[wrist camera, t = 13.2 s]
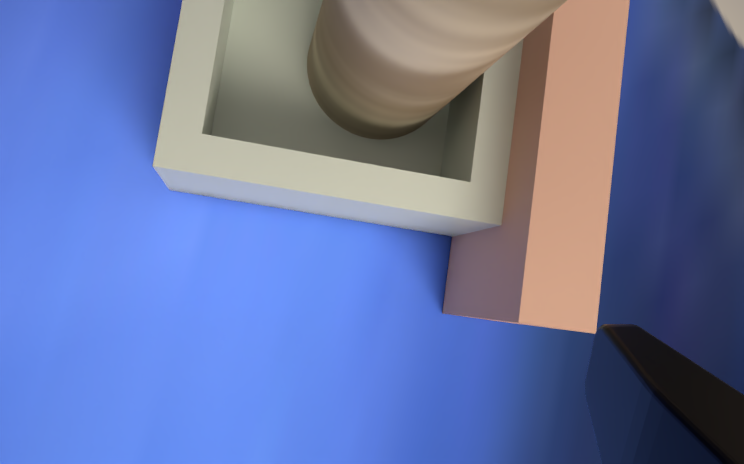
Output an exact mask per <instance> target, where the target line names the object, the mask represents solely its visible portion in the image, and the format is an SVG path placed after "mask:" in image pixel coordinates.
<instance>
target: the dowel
mask: <svg viewBox="0 0 744 464" xmlns="http://www.w3.org/2000/svg"><path fill="white" fill-rule="evenodd" d="M566 1H567V0H323V1H322V5H321V8H320V12H319V15H318V19H317V22H316V26H315V29H314V33H313V36H312V40H311V43H310V47H309V51H308V57H307V73H308V79H309V84H310V87H311V90H312V93H313V95H314V97H315V99H316V101H317V103H318V104H319V106H320V107H321V109H322V110H323V111H324V112H325V114H326V115H327V116H328V117H329V118H330V119H331V120H332V121H334V122H335V123H336V124H337V125H339V126H340V127H342V128H343V129H345V130H347V131H349V132H351V133H352V134H355V135H358V136H361V137H365V138H369V139H379V140H382V139H393V138H398V137H401V136H404V135H407V134H409V133H411V132H413V131H415V130H417V129H418V128H420V127H421V126H422V125H424V124H425V123H426V122H427V121H428V120H429V119H431V118H432V117H433V116H434V115H435V114H436V113H437V112H439V111H440V110H441V109H442V108H443V107H444V106H446V105H447V104H448V103H449V102H450V101H451V100H453V99H454V98H455V97H456V96H457V95H458V94H459V93H461V92H462V91H463V90H464V89H465V88H466V87H468V86H469V85H470V84H471V83H472V82H473V81H475V80H476V79H477V78H478V77H479V76H480V75H481V74H483V73H484V72H485V71H486V70H487V69H488V68H490V67H491V66H492V65H493V64H494V63H495V62H497V61H498V60H499V59H500V58H501V57H502V56H504V55H505V54H506V53H507V52H508V51H509V50H510V49H512V48H513V47H514V46H515V45H516V44H517V43H519V42H520V41H521V40H522V39H523V38H524V37H526V36H527V35H528V34H529V33H530V32H531V31H532V30H534V29H535V28H536V27H537V26H538V25H539V24H541V23H542V22H543V21H544V20H545V19H546V18H548V17H549V16H550V15H551V14H552V13H553V12H554V11H556V10H557V9H558V8H559V7H560V6H561V5H563V4H564V3H565V2H566Z"/></svg>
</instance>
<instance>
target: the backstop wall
mask: <svg viewBox="0 0 744 464" xmlns="http://www.w3.org/2000/svg"><path fill="white" fill-rule="evenodd" d="M629 1H630V0H567V1H566V2H565V3H564V4H563V5H561V6H560V7H559V8H558V9H557V10H556V11H554V12H553V13H552V14H551V15H550V16H549V17H548V18H546V19H545V20H544V21H543V22H542V23H541V24H539V25H538V26H537V27H536V28H535V29H534V30H532V31H531V32H530V33H529V34H528V35H527V36H526V37H524V40H523V48H522V57H521V65H520V73H519V82H518V90H517V99H516V107H515V115H514V124H513V132H512V141H511V149H510V157H509V166H508V174H507V183H506V191H505V199H504V208H503V216H502V225H501V226H496V227H492V228H488V229H484V230H480V231H476V232H471V233H467V234H463V235H459V236H455V237H453V236H452V241H451V249H450V257H449V265H448V273H447V281H446V289H445V296H444V304H443V312H442V313H444V314H451V315H458V316H465V317H472V318H479V319H486V320H493V321H500V322H508V323H516V324H524V325H532V326H540V327H547V328H555V329H563V330H571V331H579V332H587V333H594V334H595V333H596V327H597V317H598V307H599V297H600V287H601V278H602V268H603V258H604V248H605V238H606V228H607V218H608V208H609V199H610V189H611V179H612V169H613V159H614V149H615V139H616V129H617V119H618V110H619V100H620V90H621V80H622V70H623V60H624V50H625V40H626V31H627V21H628V11H629Z"/></svg>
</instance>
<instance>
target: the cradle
mask: <svg viewBox="0 0 744 464" xmlns="http://www.w3.org/2000/svg"><path fill="white" fill-rule="evenodd" d="M322 1H323V0H182V6H181V12H180V17H179V23H178V28H177V34H176V39H175V45H174V50H173V56H172V62H171V67H170V73H169V78H168V84H167V89H166V95H165V100H164V106H163V112H162V117H161V123H160V128H159V134H158V139H157V145H156V150H155V156H154V162H153V167H154V169H155V170H156V171H157V173H158V174H159V176H160V177H161V179H162V180H163V181H164V183H165V184H166V186H167V187H168V188H169V190H173V191H179V192H185V193H191V194H197V195H203V196H209V197H215V198H221V199H228V200H234V201H240V202H246V203H252V204H258V205H264V206H270V207H276V208H282V209H288V210H294V211H301V212H307V213H313V214H319V215H325V216H331V217H337V218H343V219H349V220H355V221H361V222H368V223H374V224H380V225H386V226H392V227H398V228H404V229H410V230H416V231H422V232H428V233H435V234H441V235H447V236H453V237H455V236H459V235H463V234H467V233H471V232H476V231H480V230H484V229H488V228H492V227H496V226H501V225H502V216H503V208H504V199H505V191H506V183H507V174H508V166H509V157H510V149H511V141H512V132H513V124H514V115H515V107H516V99H517V90H518V82H519V73H520V65H521V57H522V48H523V40H524V38H523V39H522V40H521V41H520V42H519V43H517V44H516V45H515V46H514V47H513V48H512V49H510V50H509V51H508V52H507V53H506V54H505V55H504V56H502V57H501V58H500V59H499V60H498V61H497V62H495V63H494V64H493V65H492V66H491V67H490V68H488V69H487V70H486V71H485V72H484V73H483V74H481V75H480V76H479V77H478V78H477V79H476V80H475V81H473V82H472V83H471V84H470V85H469V86H468V87H466V88H465V89H464V90H463V91H462V92H461V93H459V94H458V95H457V96H456V97H455V98H454V99H453V100H451V101H450V102H449V103H448V104H447V105H446V106H444V107H443V108H442V109H441V110H440V111H439V112H437V113H436V114H435V115H434V116H433V117H432V118H431V119H429V120H428V121H427V122H426V123H425V124H424V125H422V126H421V127H420V128H418V129H417V130H415V131H413V132H411V133H409V134H407V135H404V136H401V137H398V138H393V139H382V140H379V139H369V138H365V137H361V136H358V135H355V134H352V133H351V132H349V131H347V130H345V129H343V128H342V127H340V126H339V125H337V124H336V123H335V122H334V121H332V120H331V119H330V118H329V117H328V116H327V115H326V114H325V112H324V111H323V110H322V109H321V107H320V106H319V104H318V103H317V101H316V99H315V97H314V95H313V93H312V90H311V87H310V84H309V79H308V73H307V57H308V51H309V47H310V43H311V40H312V36H313V33H314V29H315V26H316V22H317V19H318V15H319V12H320V8H321V5H322Z"/></svg>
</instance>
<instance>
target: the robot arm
mask: <svg viewBox="0 0 744 464" xmlns="http://www.w3.org/2000/svg"><path fill="white" fill-rule="evenodd" d="M585 395H586V401H587V405H588V409H589V413H590V417H591V421H592V425H593V429H594V433H595V437H596V441H597V445H598V449H599V453H600V457H601V461H602V464H744V395H743V394H742V393H740V392H739V391H737V390H736V389H734V388H732V387H731V386H729V385H728V384H726V383H725V382H723V381H722V380H720V379H719V378H717V377H716V376H714V375H712V374H711V373H709V372H708V371H706V370H705V369H703V368H702V367H700V366H699V365H697V364H696V363H694V362H693V361H691V360H689V359H688V358H686V357H685V356H683V355H682V354H680V353H679V352H677V351H676V350H674V349H673V348H671V347H669V346H668V345H666V344H665V343H663V342H662V341H660V340H659V339H657V338H656V337H654V336H653V335H651V334H649V333H648V332H646V331H645V330H643V329H642V328H640V327H638V326H637V325H633V324H605V325H602V326H601V327H599V328H598V330H597V331H596V333H595V337H594V341H593V346H592V350H591V355H590V359H589V364H588V369H587V373H586V378H585Z"/></svg>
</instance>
